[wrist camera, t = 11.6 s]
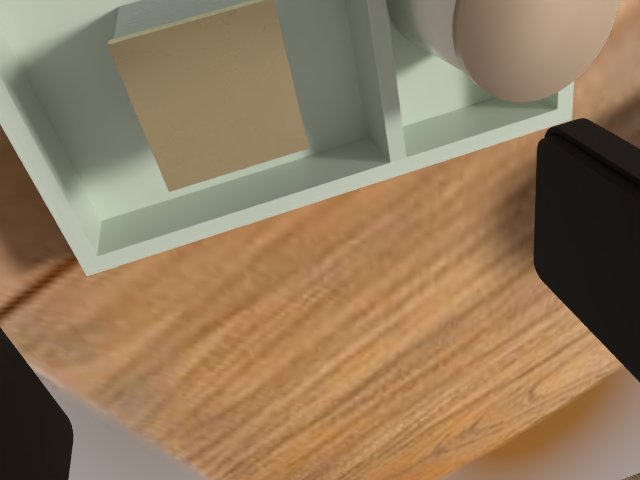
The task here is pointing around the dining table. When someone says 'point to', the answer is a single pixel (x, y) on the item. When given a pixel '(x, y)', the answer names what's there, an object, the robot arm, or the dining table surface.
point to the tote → (253, 182)
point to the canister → (510, 40)
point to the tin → (208, 85)
